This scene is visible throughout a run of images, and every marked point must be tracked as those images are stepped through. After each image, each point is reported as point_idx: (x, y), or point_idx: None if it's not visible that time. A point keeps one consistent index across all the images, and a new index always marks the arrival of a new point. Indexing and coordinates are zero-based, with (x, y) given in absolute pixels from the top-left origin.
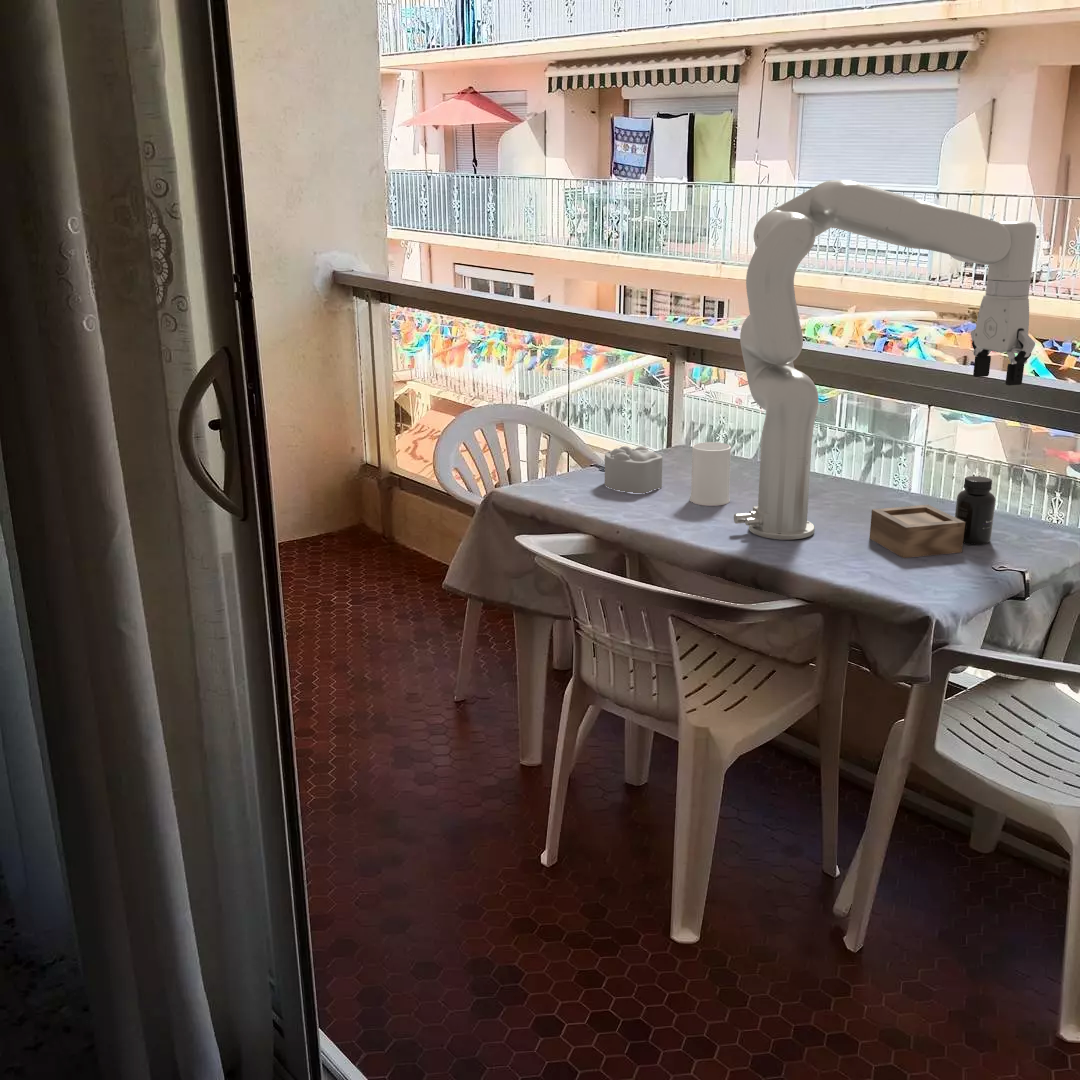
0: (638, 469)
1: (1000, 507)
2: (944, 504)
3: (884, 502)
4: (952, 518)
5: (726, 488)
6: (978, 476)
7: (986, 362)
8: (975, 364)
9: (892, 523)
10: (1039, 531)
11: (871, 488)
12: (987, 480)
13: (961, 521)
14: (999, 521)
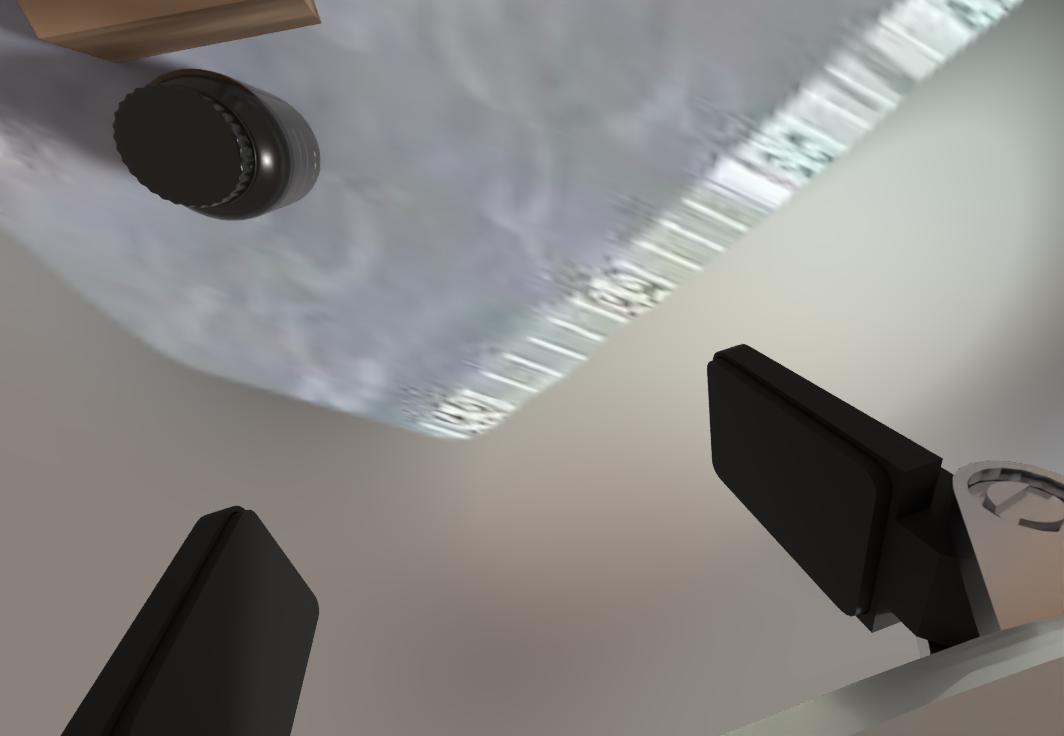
0: None
1: (565, 336)
2: (607, 209)
3: (652, 27)
4: (86, 4)
5: None
6: (234, 168)
7: (802, 530)
8: (815, 404)
9: None
10: (371, 356)
11: (789, 48)
12: (158, 179)
13: (47, 26)
14: (452, 294)
